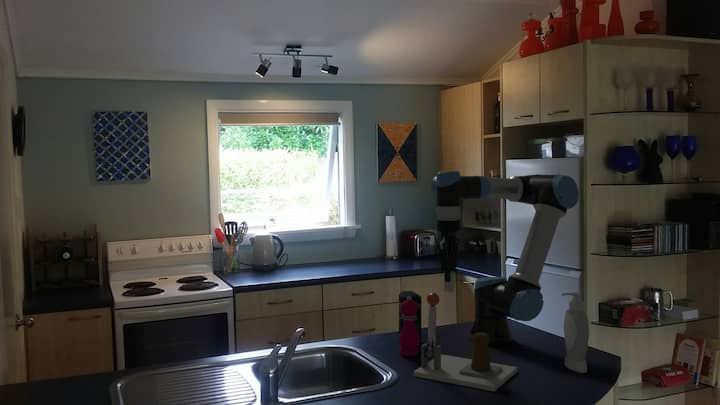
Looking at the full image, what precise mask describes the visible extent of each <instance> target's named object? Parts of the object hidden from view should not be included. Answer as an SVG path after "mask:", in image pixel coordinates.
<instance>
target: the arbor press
mask: <svg viewBox="0 0 720 405" xmlns="http://www.w3.org/2000/svg"><path fill="white" fill-rule="evenodd" d="M427 344H428V342H427V343H426V342H425V343H424V344H423V343H422V344H421V345H420V346H421V347H420V367H418V368H417V369H415V370H414V371H413V376H414V377H416V378H421V379H427V380H432V381H437V382H442V383H448V384H453V385H458V386H464V387H469V388H472V389H473V388H474V389H478V390H484V391H489V392H496V391H497V390H498V389H499V388H500V387H502V386H503V384H505V383H506V382H507V381H508V380H510V378H512V377H513V376H514V375H515V374H516V373H517V372H518V369H517V368H518V367H517V366H512V365H506V364H500V363H495V362H490V366H491V370H490V371H487V372H478V371H474V370H472V369H471V364H472V358H471V359H470V358H465V357H459V356H453V355H448V354H447V355H446V354H442V345H435V347H434V359H431V360H429V358H426V357H425V350H426V349H427Z"/></svg>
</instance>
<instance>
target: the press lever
mask: <svg viewBox="0 0 720 405" xmlns="http://www.w3.org/2000/svg"><path fill="white" fill-rule="evenodd" d="M426 302H427V304H428V305H429V307H428V317H427V319H428V321H427V322H428V323H427V349H426V350H425V357H426V358H428V359H431V360H433V359H434V347H436V335H437V334H436V331H437V307H436V306H438V304H439V302H440V296H439V295H438V294H437V293H435V292H430V293H429V294H427V296H426Z"/></svg>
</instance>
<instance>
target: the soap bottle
mask: <svg viewBox="0 0 720 405" xmlns="http://www.w3.org/2000/svg"><path fill="white" fill-rule="evenodd" d="M581 294H582V293H581V292H579V291H573V292H565V293H564V292H563V293H561V295H562V296H563V297H564V296H572V298H571V300H569V303H568V307H569V308H568V309H567V310H565V315H564V321H563V334H564V343H565V352H566V355H565V358H564V366H565V367H566V368H568V370H571V371H574V372H576V373H581V374H585V373H587V372H588V366H587V365H588V364H587V361H586V356H587V351H588V345H589V339H590V326H589V325H590V324H589V319H588V315H587V313H586V312H585V308H584V307H585V302H584V301H582V298H581Z"/></svg>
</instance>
